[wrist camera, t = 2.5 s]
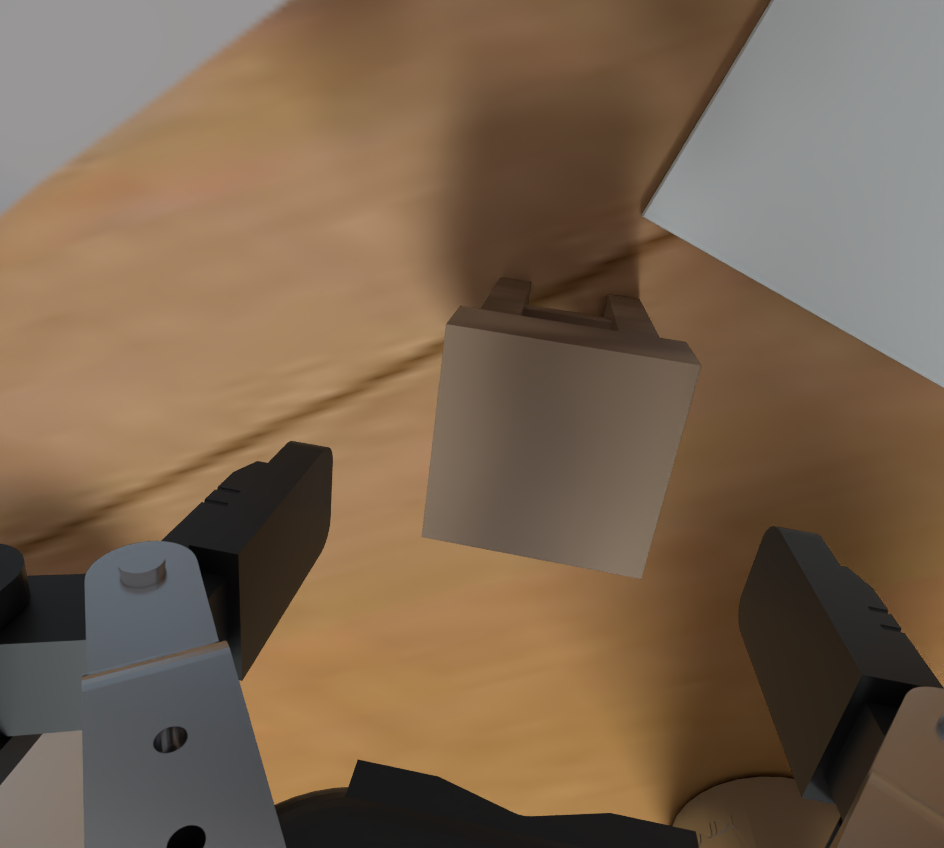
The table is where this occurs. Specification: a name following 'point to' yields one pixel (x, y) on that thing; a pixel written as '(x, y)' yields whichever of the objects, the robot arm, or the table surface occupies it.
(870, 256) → the mat
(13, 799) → the foam cup
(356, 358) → the table surface
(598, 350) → the stool
